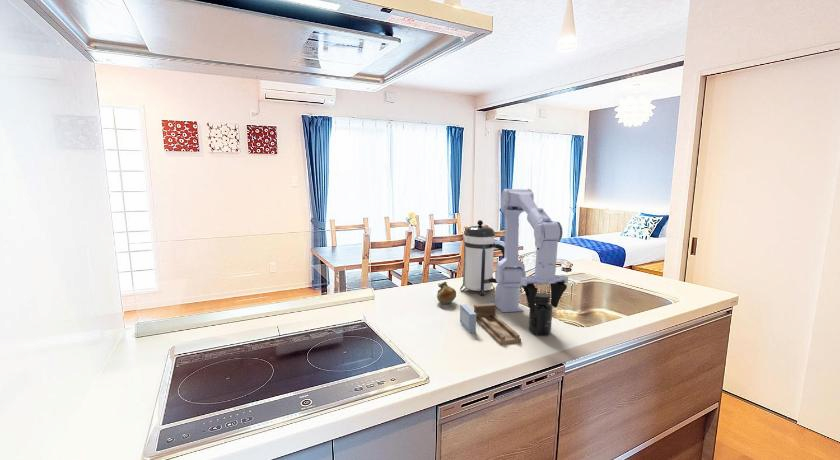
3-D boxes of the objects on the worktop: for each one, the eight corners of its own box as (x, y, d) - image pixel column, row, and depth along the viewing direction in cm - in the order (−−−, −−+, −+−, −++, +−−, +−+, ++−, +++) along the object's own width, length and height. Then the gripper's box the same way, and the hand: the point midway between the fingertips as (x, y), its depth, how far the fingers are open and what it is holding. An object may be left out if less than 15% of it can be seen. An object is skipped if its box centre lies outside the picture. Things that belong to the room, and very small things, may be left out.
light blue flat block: (459, 321, 128) (460, 304, 127) (465, 321, 129) (466, 304, 128) (469, 332, 120) (470, 314, 119) (475, 332, 120) (476, 314, 119)
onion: (434, 305, 143) (434, 285, 142) (438, 298, 151) (438, 279, 150) (454, 307, 142) (455, 286, 140) (457, 300, 149) (457, 280, 148)
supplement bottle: (552, 337, 117) (554, 299, 115) (529, 335, 119) (531, 297, 117) (549, 328, 124) (551, 292, 122) (527, 326, 125) (529, 290, 123)
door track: (473, 318, 131) (474, 304, 130) (492, 317, 133) (493, 303, 132) (499, 344, 112) (500, 327, 111) (521, 342, 113) (521, 325, 113)
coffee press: (463, 297, 153) (466, 222, 149) (456, 285, 169) (459, 217, 165) (506, 296, 155) (510, 223, 150) (495, 285, 171) (498, 218, 166)
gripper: (530, 267, 107) (527, 313, 109) (576, 264, 110) (572, 310, 112) (518, 261, 114) (515, 305, 116) (561, 259, 117) (558, 302, 119)
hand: (542, 307), depth 114 cm, fingers open, 7 cm apart
